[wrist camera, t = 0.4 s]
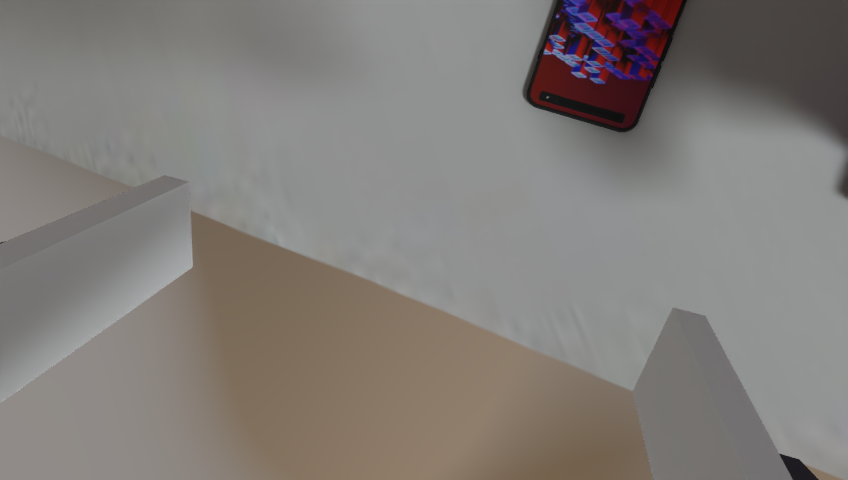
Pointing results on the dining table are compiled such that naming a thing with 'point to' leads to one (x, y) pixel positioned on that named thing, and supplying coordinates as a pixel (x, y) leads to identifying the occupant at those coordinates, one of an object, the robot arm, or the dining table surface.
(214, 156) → the dining table surface
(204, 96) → the dining table surface
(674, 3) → the smartphone
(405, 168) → the dining table surface
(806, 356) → the dining table surface
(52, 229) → the robot arm
